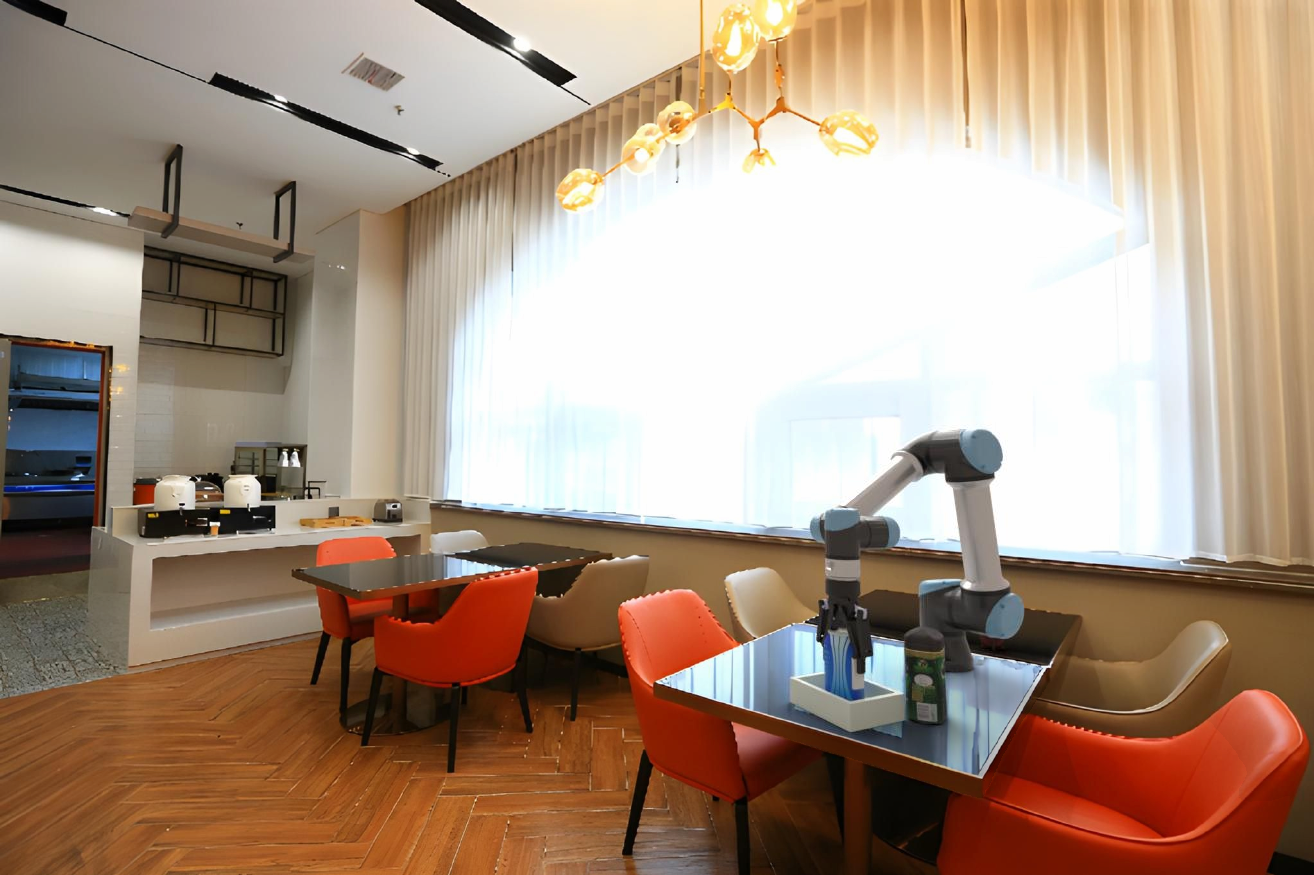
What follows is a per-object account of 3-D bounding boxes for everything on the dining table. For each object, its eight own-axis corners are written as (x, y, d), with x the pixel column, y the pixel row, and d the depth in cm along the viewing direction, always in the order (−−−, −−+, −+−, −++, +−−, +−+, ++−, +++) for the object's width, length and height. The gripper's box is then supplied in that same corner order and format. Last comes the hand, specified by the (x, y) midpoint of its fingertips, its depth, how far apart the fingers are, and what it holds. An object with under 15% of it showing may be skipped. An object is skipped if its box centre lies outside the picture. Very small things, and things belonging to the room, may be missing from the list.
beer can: (859, 715, 133) (858, 638, 134) (820, 708, 137) (819, 633, 138) (868, 703, 140) (867, 630, 141) (830, 697, 144) (829, 625, 146)
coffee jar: (910, 707, 141) (908, 622, 142) (949, 714, 137) (946, 626, 138) (902, 721, 133) (900, 631, 134) (943, 728, 128) (940, 636, 130)
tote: (840, 692, 150) (840, 669, 151) (904, 720, 133) (904, 693, 133) (789, 702, 144) (789, 677, 144) (850, 732, 126) (849, 704, 127)
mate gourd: (978, 644, 196) (976, 595, 197) (1006, 646, 193) (1005, 597, 194) (981, 650, 189) (980, 599, 190) (1011, 653, 186) (1009, 601, 187)
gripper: (799, 572, 148) (799, 671, 146) (864, 585, 129) (865, 699, 128) (824, 571, 151) (825, 668, 150) (891, 583, 133) (892, 694, 131)
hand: (843, 682), depth 139 cm, fingers closed on beer can, 8 cm apart
